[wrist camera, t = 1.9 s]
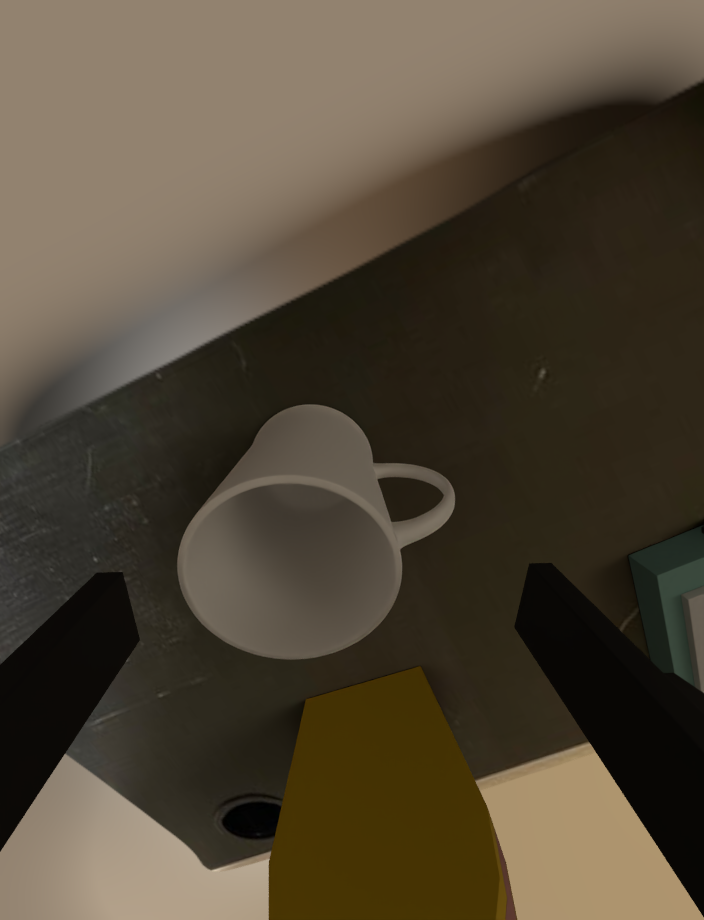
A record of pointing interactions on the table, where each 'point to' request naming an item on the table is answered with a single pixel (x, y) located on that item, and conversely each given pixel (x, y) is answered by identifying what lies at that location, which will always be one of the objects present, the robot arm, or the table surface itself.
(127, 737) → the table surface
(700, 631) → the scale
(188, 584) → the mug
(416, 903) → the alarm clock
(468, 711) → the table surface
